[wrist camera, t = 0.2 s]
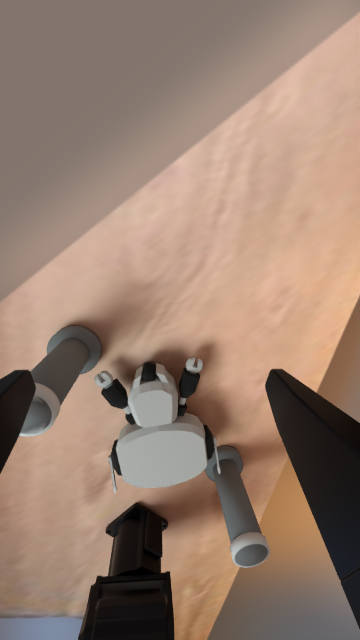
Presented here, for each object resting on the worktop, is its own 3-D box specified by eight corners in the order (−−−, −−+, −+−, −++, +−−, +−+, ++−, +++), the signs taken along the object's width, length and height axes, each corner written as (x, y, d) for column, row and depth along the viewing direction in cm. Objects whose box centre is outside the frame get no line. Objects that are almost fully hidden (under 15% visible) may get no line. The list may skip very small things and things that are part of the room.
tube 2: (220, 479, 32) (247, 578, 22) (196, 462, 30) (214, 559, 21) (247, 458, 31) (287, 551, 21) (224, 439, 30) (256, 529, 20)
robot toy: (95, 360, 26) (120, 467, 29) (82, 380, 21) (113, 503, 25) (201, 344, 26) (213, 451, 30) (210, 360, 22) (223, 482, 25)
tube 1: (81, 377, 25) (34, 456, 15) (42, 348, 23) (-36, 416, 14) (111, 347, 24) (83, 411, 15) (73, 315, 23) (14, 363, 13)
